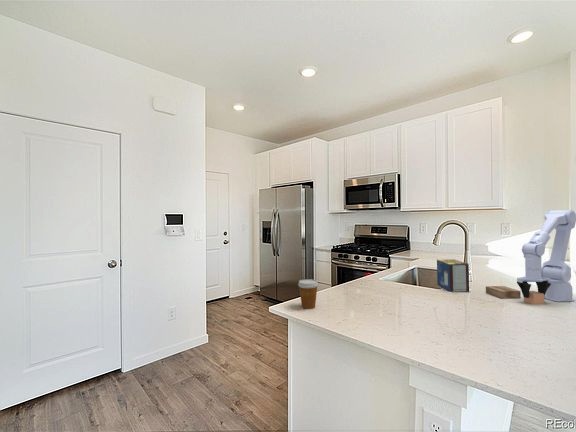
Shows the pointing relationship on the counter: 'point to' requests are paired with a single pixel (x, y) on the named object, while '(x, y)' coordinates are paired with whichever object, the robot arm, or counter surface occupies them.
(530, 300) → the terracotta block
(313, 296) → the disposable coffee cup
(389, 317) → the counter surface
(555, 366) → the counter surface
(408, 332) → the counter surface
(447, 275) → the protein box
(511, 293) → the walnut base
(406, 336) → the counter surface
